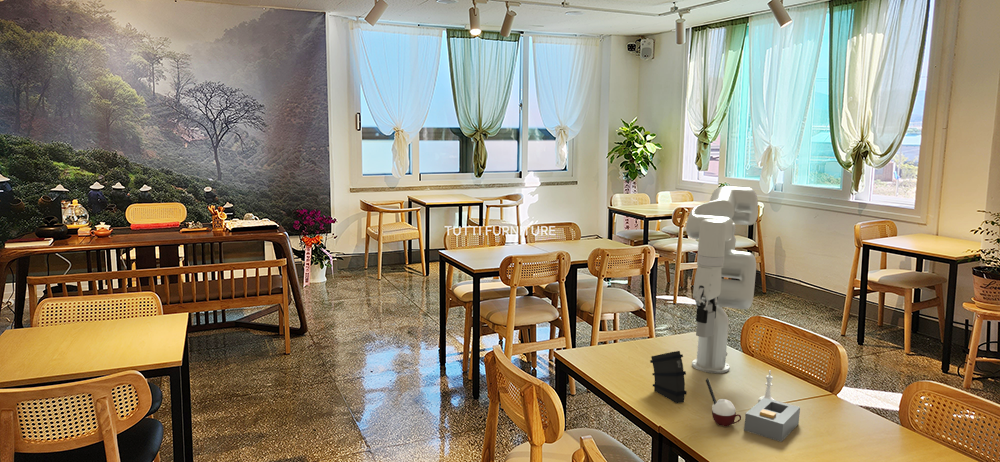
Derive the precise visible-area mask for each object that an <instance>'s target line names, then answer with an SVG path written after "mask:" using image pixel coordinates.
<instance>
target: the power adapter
mask: <svg viewBox="0 0 1000 462" xmlns="http://www.w3.org/2000/svg"><path fill="white" fill-rule="evenodd" d="M704 304H705V303H704ZM712 306H713V304H712V303H710V300H709V302H708V305H707V310H708V316H707V323H700V322H697V321H696V328H695V335H696V336H697V337H708V336H712V335H713V334H714V322H715V311H712Z"/></svg>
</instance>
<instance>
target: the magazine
mask: <svg viewBox="0 0 1000 462" xmlns="http://www.w3.org/2000/svg"><path fill="white" fill-rule="evenodd" d="M683 357H684V355H683V354H681V352H680V350H676V351H670V352H665V353H661V354H656V355H652V356H650V358H651V360H649V363H650V364H652V366H653V373H652V376H654V383H653V384H652V387H654V388H653V389H654V391H653V392H655V393H657V394H658V395H661V396H662V397H664V398H666V399H667V400H670V401H672V402H673V403H674V404H682V403H685V395H687V390H685V389H686V387H685V385H686V382H685V380H686V379H685V375H687V372H686V370H684V364H683V359H682V358H683Z"/></svg>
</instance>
